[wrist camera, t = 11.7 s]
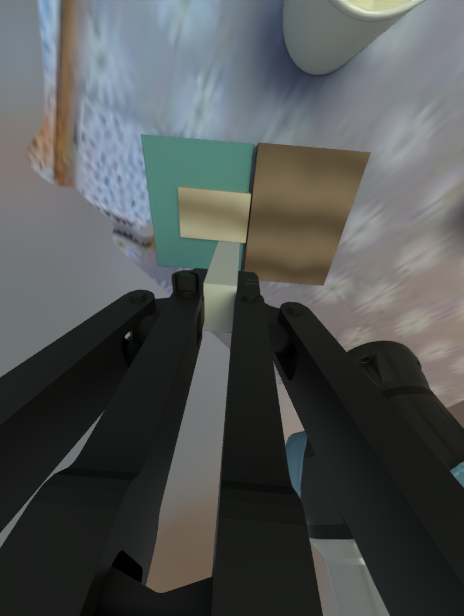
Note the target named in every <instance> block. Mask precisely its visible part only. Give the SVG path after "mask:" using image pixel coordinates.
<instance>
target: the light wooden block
mask: <svg viewBox="0 0 464 616" xmlns="http://www.w3.org/2000/svg"><path fill="white" fill-rule="evenodd" d="M178 199H179V217H180V234H181V237H186V238H197V239H207V240H218V241H229V242H239V243H246V235H247V226H248V217H249V209H250V200H251V193H247V192H237V191H226V190H216V189H205V188H195V187H184V186H180V187H178Z"/></svg>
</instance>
